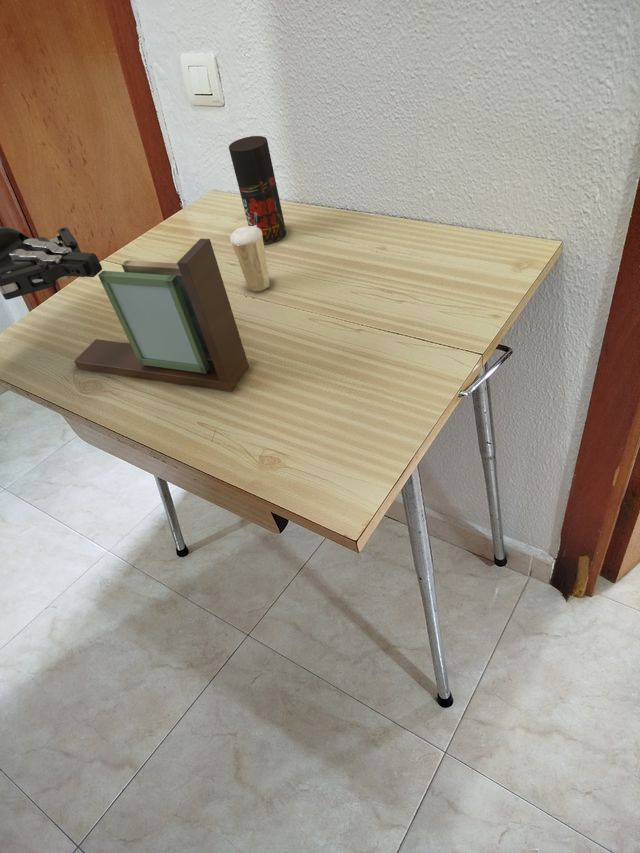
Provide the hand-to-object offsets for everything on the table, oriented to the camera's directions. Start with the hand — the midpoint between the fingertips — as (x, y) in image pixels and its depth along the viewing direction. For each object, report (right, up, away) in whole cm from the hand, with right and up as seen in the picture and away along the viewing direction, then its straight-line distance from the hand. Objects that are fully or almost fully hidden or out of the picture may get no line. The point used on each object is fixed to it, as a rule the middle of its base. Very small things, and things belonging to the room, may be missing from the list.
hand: (95, 265), depth 66 cm
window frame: (+4, -10, +11) cm, 16 cm away
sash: (+7, -11, +8) cm, 15 cm away
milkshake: (+16, +3, +22) cm, 28 cm away
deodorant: (+17, +14, +33) cm, 40 cm away
